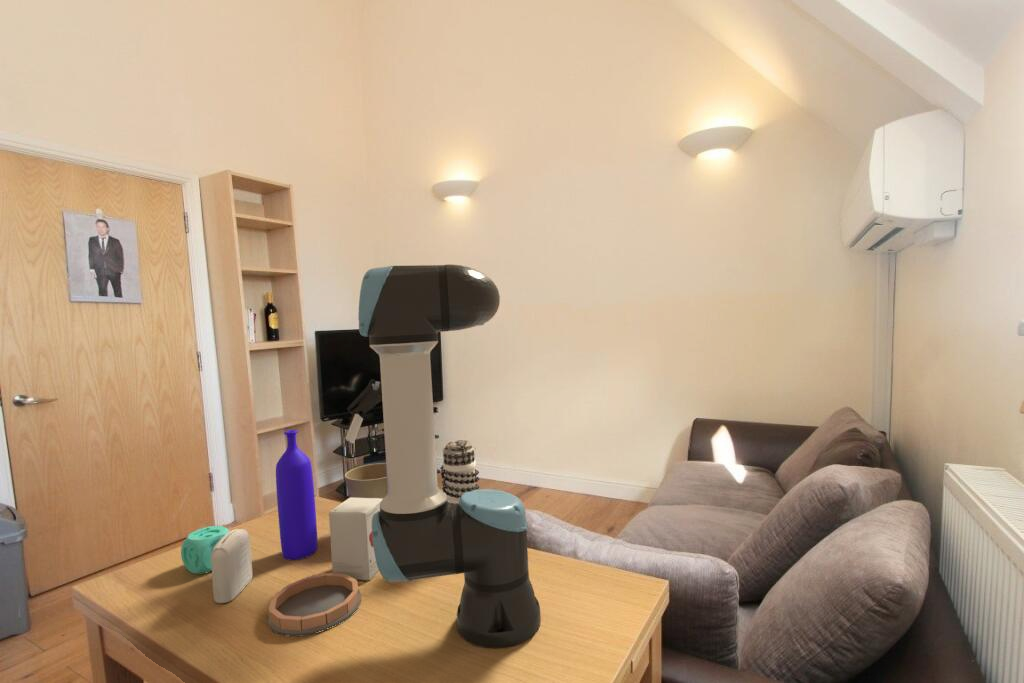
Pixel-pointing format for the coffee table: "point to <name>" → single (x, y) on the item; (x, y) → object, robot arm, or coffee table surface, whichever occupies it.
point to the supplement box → (354, 537)
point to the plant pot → (367, 481)
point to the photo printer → (231, 565)
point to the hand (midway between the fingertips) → (373, 444)
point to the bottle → (296, 502)
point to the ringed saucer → (314, 604)
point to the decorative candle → (458, 470)
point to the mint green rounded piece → (201, 548)
